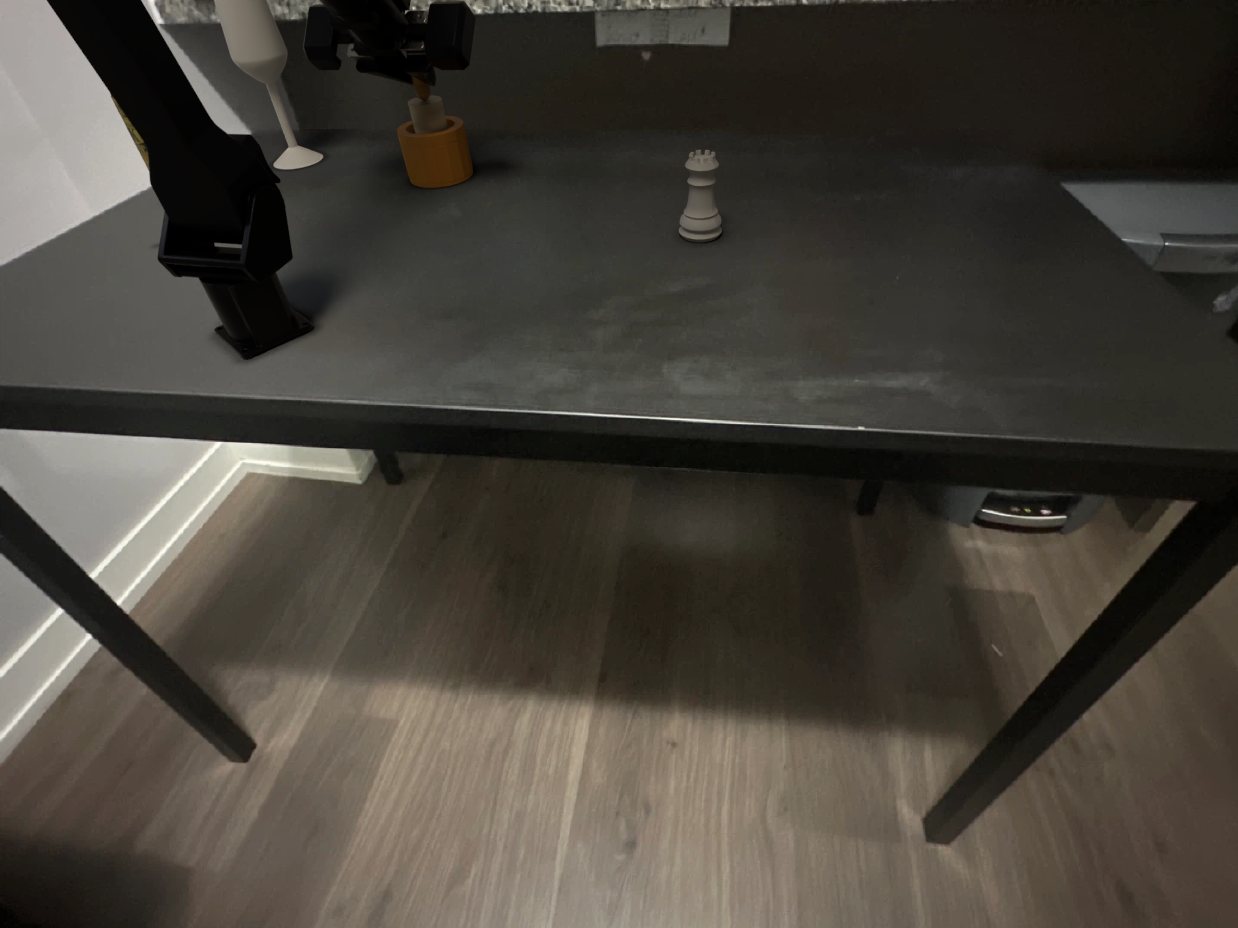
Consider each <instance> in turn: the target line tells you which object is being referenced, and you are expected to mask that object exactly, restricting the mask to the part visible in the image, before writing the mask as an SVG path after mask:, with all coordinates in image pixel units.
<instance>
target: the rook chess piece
mask: <svg viewBox="0 0 1238 928" xmlns="http://www.w3.org/2000/svg"><path fill="white" fill-rule="evenodd" d="M719 166H720V163H719V162H718V160H717V158H716V152H715V151H711V150H709V149H705V150H704V154H702V150H701V149H696V150H695V152H694V151H691V152H689V155H688V159H687V161H686V162H685V164H684V167H685V168H686V170H687V171H688V173H689V176H688V178H687V179H686V182H687V184H688V195H687V204H686V207H685V208H684V209H683V214H681V216H680V219H679V225H680V227H679V229H678V233H679V234H680V236H681V237H682V238H683V239H684V240H686V241H687V242H691V243H709V242H712V241H714V240H716V239H717V238H718V237H720V235H721V234H722V231H723V228H722V227H721V224H722V221H723V220H722V216H721V215H720V214H719V209H718V208H717V206H716V201H715V191H714V190H715V188H714V187H715V183H716V182H717V179H716V177H715V172H716V170H717V169H718V168H719Z"/></svg>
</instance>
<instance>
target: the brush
mask: <svg viewBox="0 0 1238 928" xmlns="http://www.w3.org/2000/svg"><path fill="white" fill-rule="evenodd" d="M406 52H407V51H404V53H405V57H406V58H407V53H406ZM411 78H412V82H413V85H412V86H413V91H414V94H415V96H416V97H414V98H411V99H409V100H408V101H407V105H408V109H409V113H410V117H411V121H412V122H413V126H414V130H415V134H431V133H436V132H441V131H444V130H447V129H448V126H447V121H446V116H447V115H446V111H445V108H444V104H443V98H442V97H441V96H439V95H434V94H433V95H431V93H432V92H431V86H430V85H428V84H426V83H424V82H422V81H420V80H418V79H417V78H415V77H413V76H411Z"/></svg>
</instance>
